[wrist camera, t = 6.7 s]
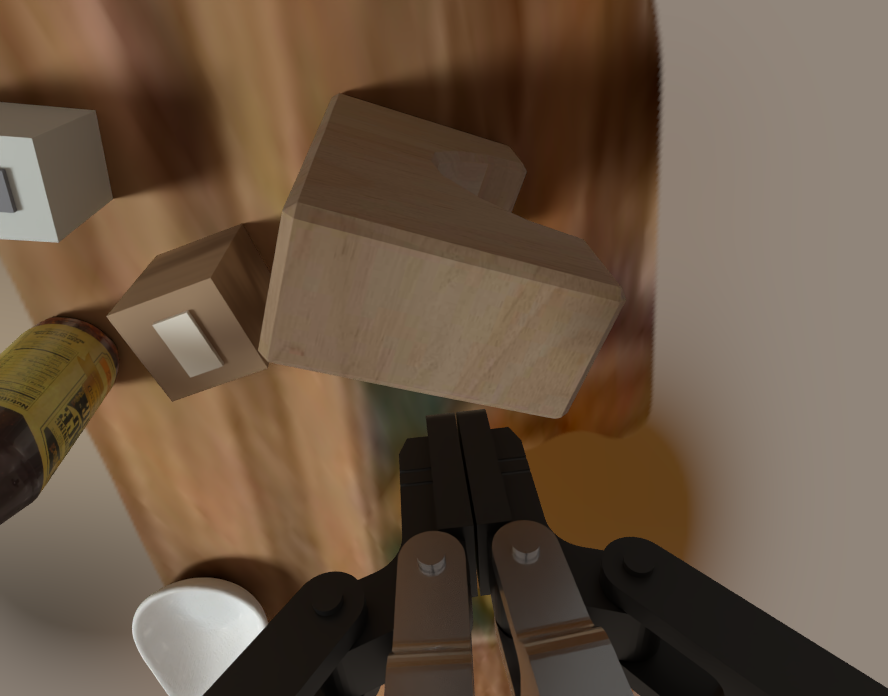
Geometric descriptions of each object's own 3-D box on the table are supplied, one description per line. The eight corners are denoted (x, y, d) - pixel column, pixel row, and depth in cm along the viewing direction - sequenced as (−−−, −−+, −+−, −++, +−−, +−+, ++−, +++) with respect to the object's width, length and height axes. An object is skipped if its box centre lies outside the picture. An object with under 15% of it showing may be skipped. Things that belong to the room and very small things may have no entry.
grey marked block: (-44, 98, 31) (-148, 125, 25) (96, 110, 32) (28, 139, 26) (-15, 189, 34) (-103, 235, 28) (113, 198, 35) (55, 244, 29)
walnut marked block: (156, 255, 37) (103, 319, 30) (242, 223, 36) (208, 280, 29) (207, 331, 40) (170, 404, 33) (286, 302, 39) (266, 371, 32)
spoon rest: (130, 560, 52) (97, 637, 45) (265, 551, 53) (250, 625, 47) (188, 700, 64) (168, 774, 58) (296, 690, 65) (288, 762, 59)
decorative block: (514, 147, 35) (638, 296, 18) (482, 232, 38) (563, 431, 21) (334, 86, 32) (284, 195, 16) (313, 183, 35) (250, 364, 18)
